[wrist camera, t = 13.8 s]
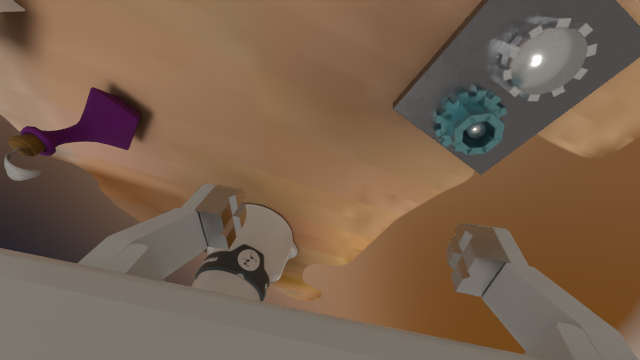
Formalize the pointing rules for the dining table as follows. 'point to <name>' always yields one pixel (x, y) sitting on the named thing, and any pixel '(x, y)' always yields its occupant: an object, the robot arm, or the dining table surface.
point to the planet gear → (470, 121)
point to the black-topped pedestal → (10, 6)
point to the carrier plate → (481, 56)
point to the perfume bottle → (78, 131)
